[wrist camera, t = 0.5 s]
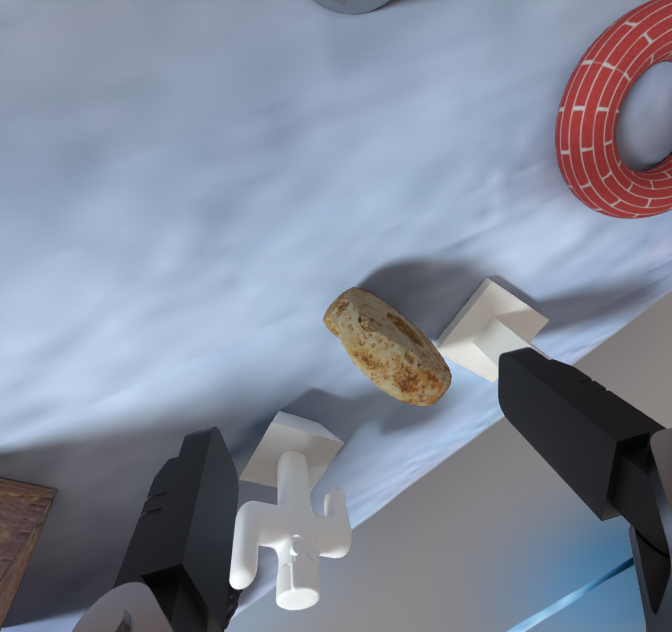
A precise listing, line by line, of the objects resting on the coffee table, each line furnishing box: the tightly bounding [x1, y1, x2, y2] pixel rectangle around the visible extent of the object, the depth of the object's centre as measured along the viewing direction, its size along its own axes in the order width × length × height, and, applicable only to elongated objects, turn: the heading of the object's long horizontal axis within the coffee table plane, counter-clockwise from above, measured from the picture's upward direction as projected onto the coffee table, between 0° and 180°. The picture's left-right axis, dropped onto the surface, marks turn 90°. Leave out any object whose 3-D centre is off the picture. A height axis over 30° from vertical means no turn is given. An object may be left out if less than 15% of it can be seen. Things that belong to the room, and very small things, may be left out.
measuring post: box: [433, 277, 551, 383], centre depth 28 cm, size 8×8×14 cm
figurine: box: [229, 411, 351, 610], centre depth 29 cm, size 7×9×15 cm
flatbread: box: [323, 287, 452, 407], centre depth 27 cm, size 10×4×10 cm, turn 53°
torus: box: [555, 0, 672, 219], centre depth 27 cm, size 16×14×4 cm
